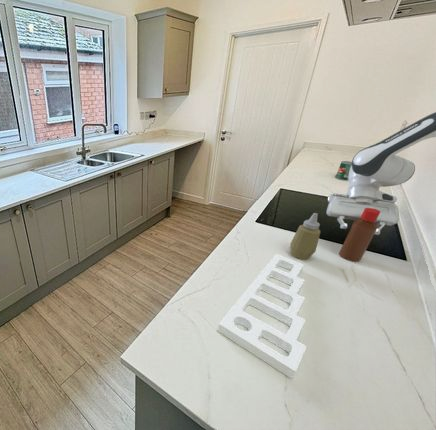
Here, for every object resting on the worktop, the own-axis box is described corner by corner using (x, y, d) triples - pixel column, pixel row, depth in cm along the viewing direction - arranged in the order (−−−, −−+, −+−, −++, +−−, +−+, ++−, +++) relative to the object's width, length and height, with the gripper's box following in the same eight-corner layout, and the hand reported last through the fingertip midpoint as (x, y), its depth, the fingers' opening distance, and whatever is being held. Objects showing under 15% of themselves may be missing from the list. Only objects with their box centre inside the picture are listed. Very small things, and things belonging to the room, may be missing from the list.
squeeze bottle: (290, 259, 98) (306, 217, 90) (284, 247, 105) (299, 207, 97) (315, 263, 96) (334, 220, 88) (308, 251, 103) (324, 210, 94)
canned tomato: (332, 177, 180) (338, 161, 175) (340, 176, 182) (346, 160, 177) (344, 181, 173) (351, 164, 168) (352, 179, 175) (359, 163, 170)
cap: (373, 217, 93) (378, 209, 91) (377, 222, 89) (382, 213, 88) (358, 215, 94) (363, 206, 93) (362, 220, 91) (367, 211, 89)
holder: (274, 259, 98) (276, 253, 97) (333, 283, 86) (336, 276, 85) (216, 330, 70) (218, 323, 69) (292, 379, 59) (295, 371, 58)
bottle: (357, 254, 101) (380, 209, 92) (363, 263, 95) (387, 217, 87) (337, 250, 103) (357, 206, 94) (341, 259, 98) (363, 213, 89)
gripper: (332, 189, 100) (328, 222, 97) (402, 198, 92) (401, 235, 89) (325, 195, 106) (321, 227, 103) (391, 204, 98) (389, 239, 95)
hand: (359, 231), depth 96 cm, fingers open, 8 cm apart
